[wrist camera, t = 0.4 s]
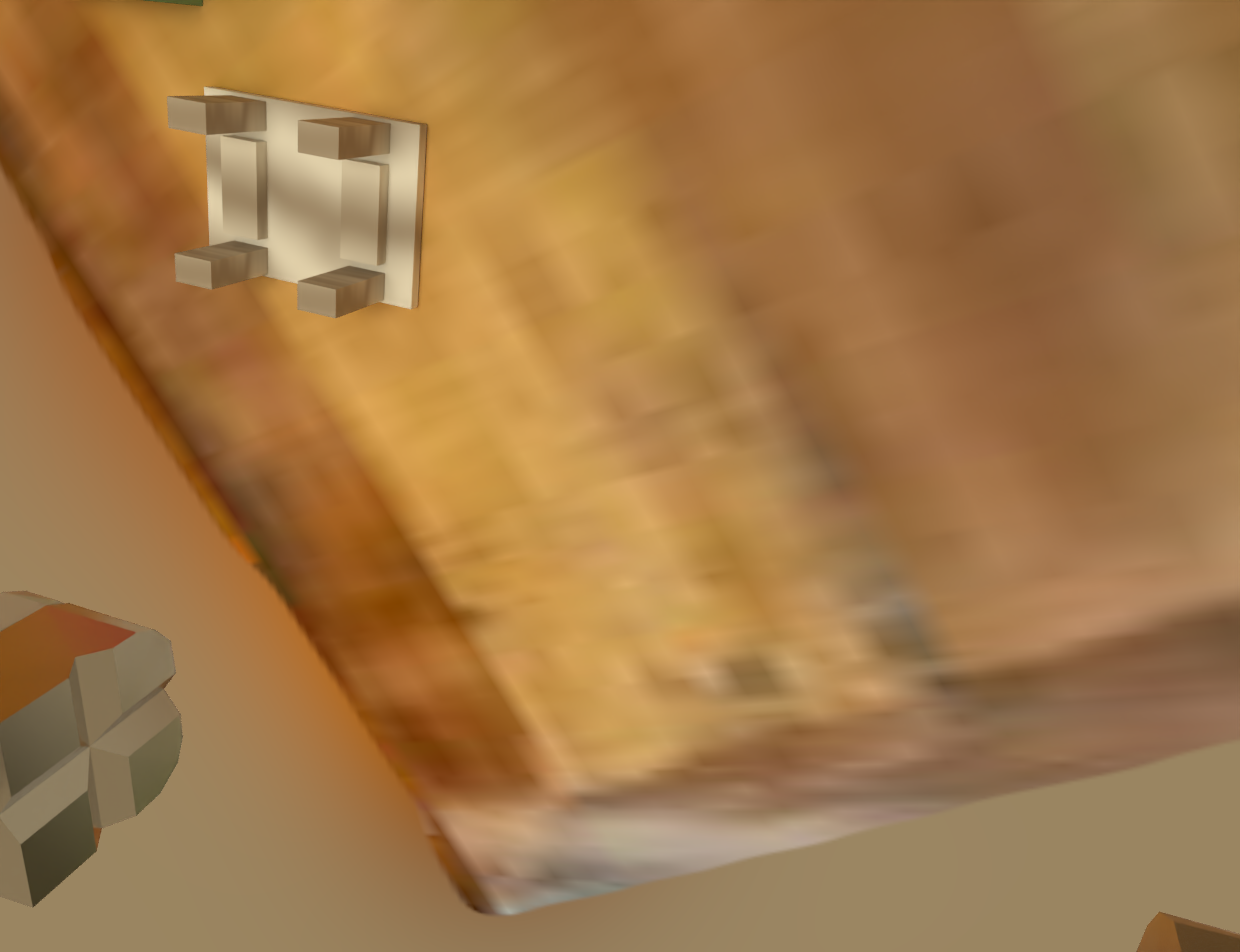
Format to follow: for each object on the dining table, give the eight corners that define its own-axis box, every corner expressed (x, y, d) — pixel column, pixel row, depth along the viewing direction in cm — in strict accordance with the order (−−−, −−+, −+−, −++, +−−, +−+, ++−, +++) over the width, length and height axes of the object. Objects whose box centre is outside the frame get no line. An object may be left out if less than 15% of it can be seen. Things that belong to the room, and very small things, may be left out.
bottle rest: (213, 86, 59) (138, 87, 53) (427, 124, 55) (370, 129, 50) (218, 262, 63) (149, 278, 58) (417, 306, 60) (364, 328, 54)
